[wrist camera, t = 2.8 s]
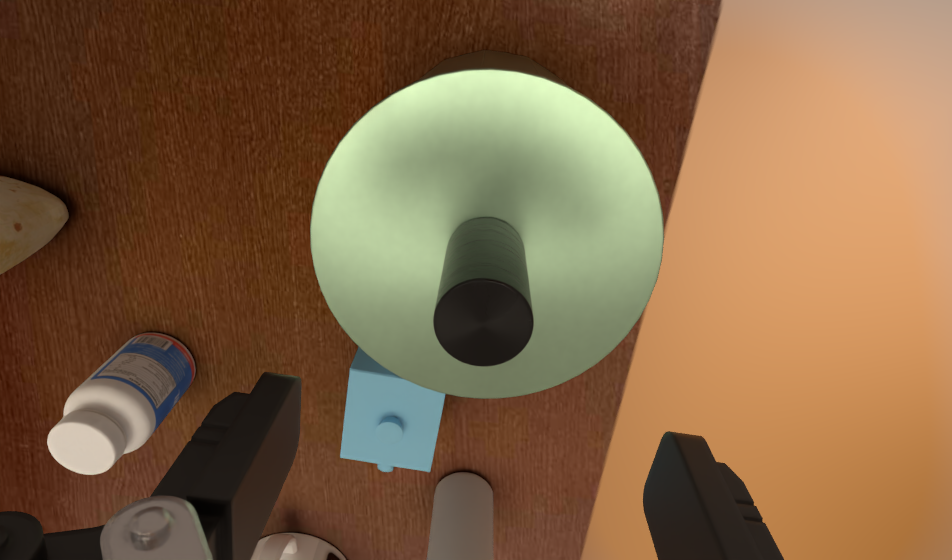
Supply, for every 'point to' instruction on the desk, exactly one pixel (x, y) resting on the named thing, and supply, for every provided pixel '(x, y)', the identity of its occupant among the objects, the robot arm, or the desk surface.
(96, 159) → the desk surface
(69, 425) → the pill bottle
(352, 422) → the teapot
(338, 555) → the mug
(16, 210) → the food model
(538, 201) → the lid
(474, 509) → the beverage can
